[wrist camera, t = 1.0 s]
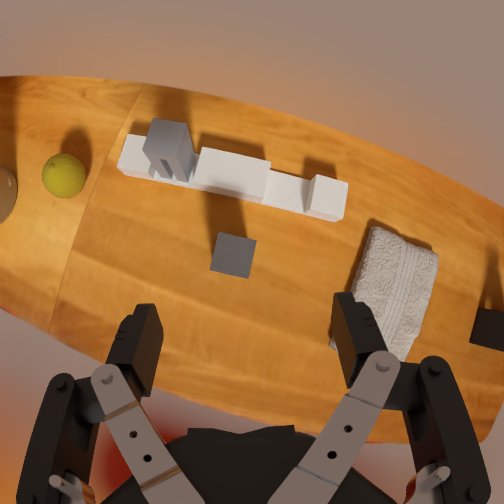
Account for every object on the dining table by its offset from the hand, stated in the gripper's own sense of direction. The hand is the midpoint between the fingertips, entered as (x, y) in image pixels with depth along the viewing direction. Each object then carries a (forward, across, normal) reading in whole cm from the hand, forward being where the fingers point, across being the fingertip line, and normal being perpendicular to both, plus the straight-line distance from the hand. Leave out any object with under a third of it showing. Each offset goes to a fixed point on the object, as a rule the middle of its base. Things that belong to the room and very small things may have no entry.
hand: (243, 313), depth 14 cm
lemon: (+28, +23, +1) cm, 36 cm away
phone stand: (+18, -40, +27) cm, 51 cm away
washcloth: (+21, -18, +19) cm, 33 cm away
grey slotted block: (+23, +3, +12) cm, 26 cm away
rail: (+28, +2, +3) cm, 29 cm away
